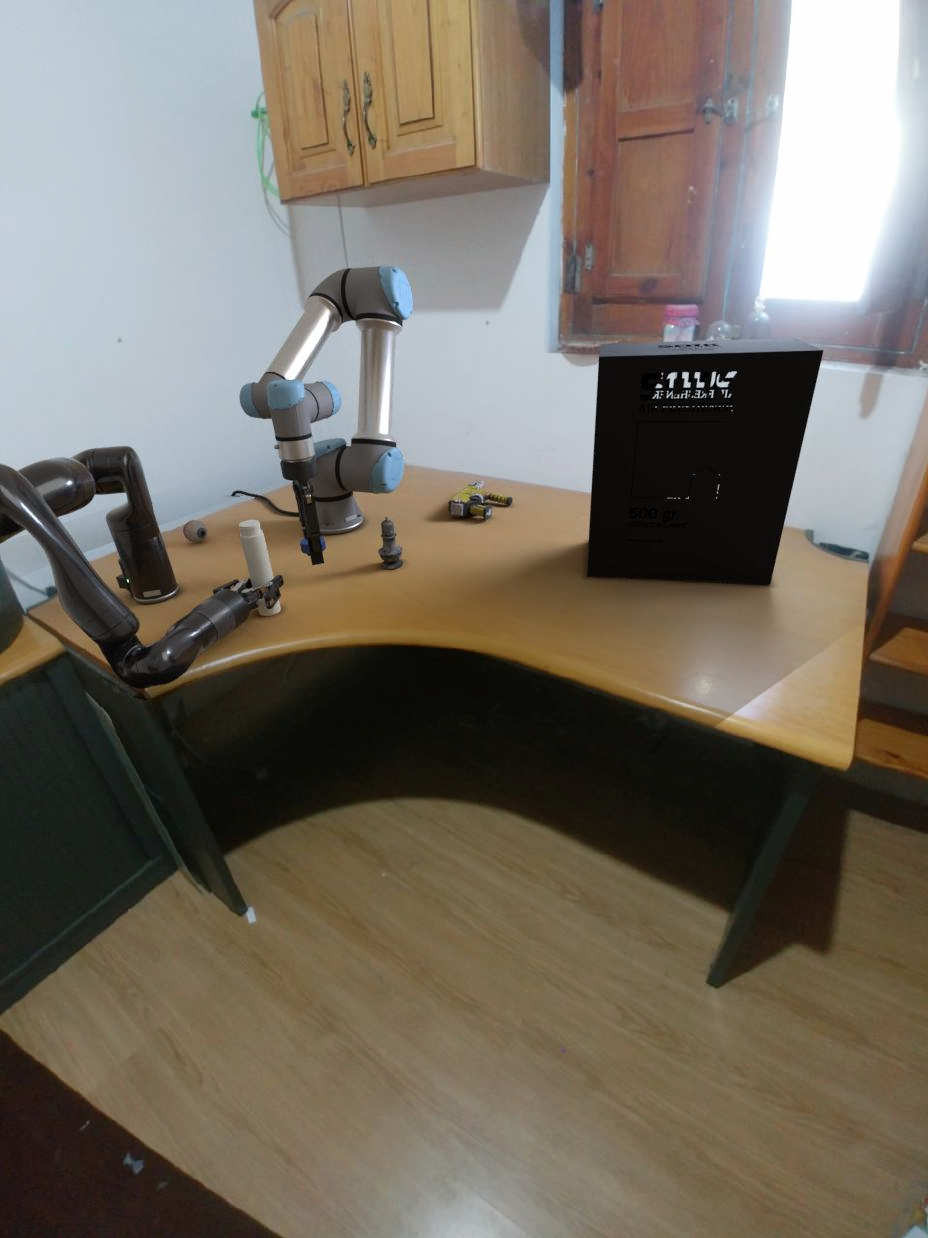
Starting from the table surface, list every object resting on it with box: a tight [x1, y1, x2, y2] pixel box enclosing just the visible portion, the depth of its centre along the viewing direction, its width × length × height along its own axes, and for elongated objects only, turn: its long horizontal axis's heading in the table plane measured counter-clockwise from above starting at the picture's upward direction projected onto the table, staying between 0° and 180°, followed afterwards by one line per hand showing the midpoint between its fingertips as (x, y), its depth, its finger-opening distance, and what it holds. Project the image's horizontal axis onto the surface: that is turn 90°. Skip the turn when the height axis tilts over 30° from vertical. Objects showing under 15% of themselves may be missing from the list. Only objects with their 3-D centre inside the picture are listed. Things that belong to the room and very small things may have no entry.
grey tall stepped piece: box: [377, 516, 404, 570], centre depth 141 cm, size 6×6×12 cm
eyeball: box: [182, 519, 208, 544], centre depth 162 cm, size 6×6×6 cm
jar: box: [238, 519, 282, 617], centre depth 122 cm, size 4×4×20 cm
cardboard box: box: [586, 337, 824, 586], centre depth 127 cm, size 38×20×45 cm, turn 78°
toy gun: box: [447, 479, 514, 521], centre depth 175 cm, size 5×24×15 cm
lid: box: [299, 536, 327, 555], centre depth 137 cm, size 6×6×2 cm
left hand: (270, 577), depth 126 cm, fingers closed on jar, 4 cm apart
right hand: (315, 558), depth 139 cm, fingers closed on lid, 5 cm apart
